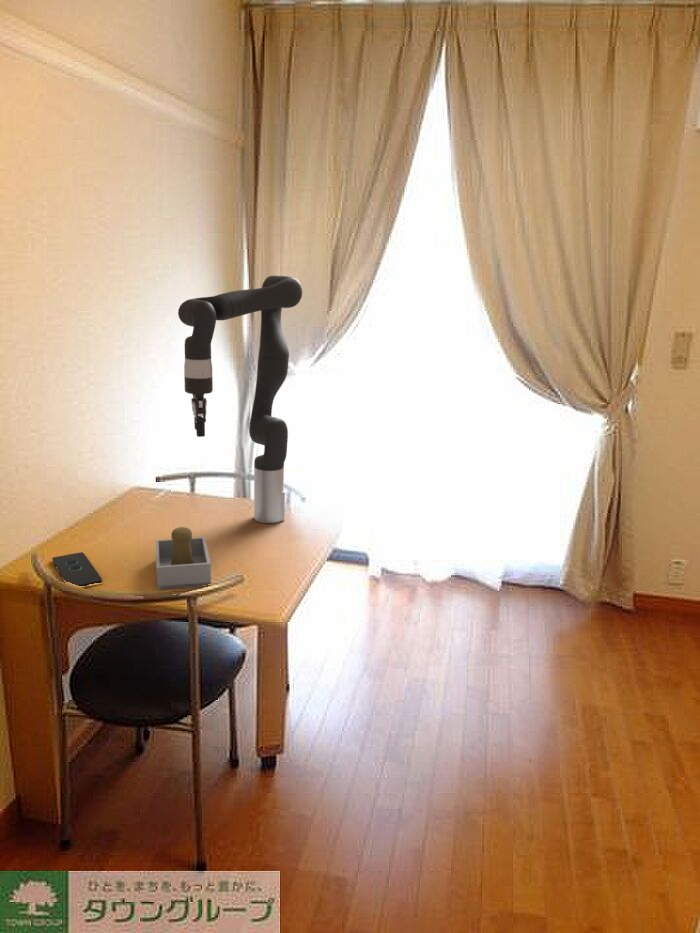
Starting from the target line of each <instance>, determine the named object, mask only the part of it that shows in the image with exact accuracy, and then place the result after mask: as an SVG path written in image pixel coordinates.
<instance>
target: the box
mask: <svg viewBox="0 0 700 933" xmlns="http://www.w3.org/2000/svg"><path fill="white" fill-rule="evenodd" d="M173 544H174V541H173V540H172V538H169V539H167V538H166V539H156V540H155V565H156V566H155V568H156V569H155V570H156V590H157V591H161V590H162V591H165V590H174V589H175V590H176V589H186V588H201V587H204V586H203V585H208V584H211V585H212V573H211V572H212V571H211V570H212V568H211V565H212V564H211V560H210V554H209V549H208V545H207V540H206V536H201V537H192V539H191V540H190V544H191V550H192V556H193V562H194V564H182V565H171V563H172V554H173ZM200 586H201V587H200Z"/></svg>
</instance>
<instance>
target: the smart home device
mask: <svg viewBox="0 0 700 933" xmlns="http://www.w3.org/2000/svg"><path fill="white" fill-rule="evenodd" d="M52 560H53V561H52V563H53V562H54V564H55V566H56V567H57V569H58V571H59V573H60V574H61V576H62V577H63V579H64V580H65V581H66V582H70V583H72V584H75V585H78V586H87V585H89V584H94V583H101V582H102V583H103V579H102V577H101V575H100V574H99V572H98V571H97V569H96V568H95V566H93V564H92V562H91V561H90V560H89V558H88V557H87V556H86V554H85V553H84V552H82V551H81V552H74V553H70V554H64V555H57V556H54V557H52ZM54 564H53V565H54ZM55 566H54V567H55ZM57 569H56V570H57ZM58 571H57V572H58ZM59 573H58V574H59ZM60 574H59V575H60ZM61 576H60V577H61ZM63 579H62V580H63Z"/></svg>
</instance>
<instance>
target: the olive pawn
mask: <svg viewBox="0 0 700 933" xmlns="http://www.w3.org/2000/svg"><path fill="white" fill-rule="evenodd" d="M192 538H193V533H192V530H191V529H190V528H189V527H186V526H181V527H177V528H173V530H172V531H171V539H172V540H173V541H174V544H173V554H172V563H171V565H182V564H194V562H193V556H192V550H191V544H190V540H191V539H192Z"/></svg>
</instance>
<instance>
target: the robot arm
mask: <svg viewBox="0 0 700 933" xmlns="http://www.w3.org/2000/svg"><path fill="white" fill-rule="evenodd" d="M302 297H303V287H302V285H301V283H300V281H299V280H298V279H297V278H294V277H292V276H288V275H269V276H267V277H265V279H264V281H263V283H262V286H261V287H260V288H249V289H240V290H239V289H238V290H232V291H229V292H223V293H220V294H217V295H213V296H212V295H211V296H205V297H204V296H203V297H195V298H190V299H187V300H185V301H183V302H182V303H181V304H180V305H179V308H178V310H177V314H178V315H177V316H178V318H179V320H180V322H181V323H183V324H184V325H185V326H188V327H193V329H192V334H191V335H190V336H189V335H188V337H187V336H186V338H185V340H184V364H183V369H184V371H183V374H184V378H183V379H184V392H185V393H186V394H190V395H192V397H191V409H192V410H191V411H192V414H193V416H194V417H193V418H194V421H193V422H194V430H196V436H197V437H198V438H199V437H200V438H201V437H203V438H204V437H205V436H206V427H205V426H206V423H207V419H206V416H207V413H208V412H207V405H208V404H207V403H208V401H207V398H206V397H204V395H205V394H206V395H208V394H211V393H212V392H213V388H214V387H213V386H214V385H213V363H212V340H213V338H214V337H213V336H214V334H215V333H214V332H215V328H216V324H217V321H225V320H230V319H234V318H238V317H241V316H245V315H249V314H252V313H255V312H260V336H259V348H258V356H257V365H256V366H257V367H256V368H257V370H256V371H257V373H256V382H255V390H254V399H253V403H252V404H253V405H252V410H251V415H250V419H249V424H248V425H249V426H248V433H249V438H250V440H252V442H253V443H255V444H258V445H262V446H264V449H263V450H264V452H263V454H261V455H258V456H256V457H255V458H254V461H253V462H254V463H253V464H254V465H253V467H254V468H253V469H254V471H253V473H254V476H253V480H254V481H253V482H254V483H253V485H254V487H253V490H254V492H253V493H254V494H253V497H254V498H253V505H254V506H253V508H254V509H253V510H254V511H253V514H254V516H253V519H254V521H256V522H258V523H261V524H262V523H263V524H275V523H280V522H284V521H285V515H286V514H285V513H286V510H285V508H286V507H285V506H286V502H285V501H286V492H285V490H284V489H285V488H284V486H285V485H284V480H285V479H284V478H285V477H284V476H285V474H284V473H285V472H284V471H285V461H286V459H287V452H288V436H289V432H288V431H289V430H288V429H289V428H288V426H287V423H286V421H284V420H283V419H282V418H278V417H274V416H272V415H273V414H272V412H273V404H274V400H275V397H276V395H277V394H278V392H279V390H280V388H282V385H284V382H285V380H286V379H287V375H288V371H289V361H290V352H289V347H288V346H289V345H288V342H287V341H286V337H285V335H284V332H283V329H282V328H283V327H282V320H281V319H282V309H289V308H291V309H292V308H294V307H297V305H299V303H300V302H301V299H302Z"/></svg>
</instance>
